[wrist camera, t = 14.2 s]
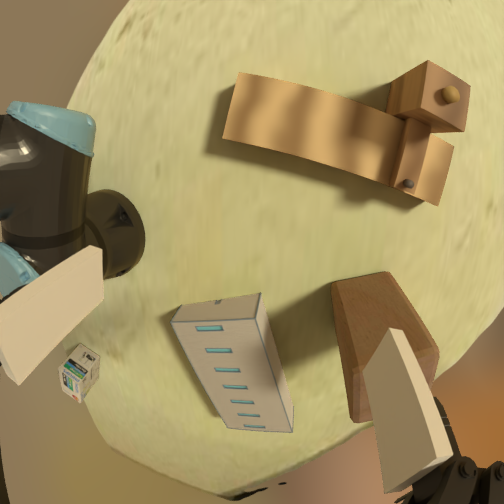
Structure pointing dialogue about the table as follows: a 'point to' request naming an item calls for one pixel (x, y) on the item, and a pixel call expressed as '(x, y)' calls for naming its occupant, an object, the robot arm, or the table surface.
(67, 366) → the light bulb box
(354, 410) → the wooden block
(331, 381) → the table surface
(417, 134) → the wooden box
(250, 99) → the plank
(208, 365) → the warehouse
